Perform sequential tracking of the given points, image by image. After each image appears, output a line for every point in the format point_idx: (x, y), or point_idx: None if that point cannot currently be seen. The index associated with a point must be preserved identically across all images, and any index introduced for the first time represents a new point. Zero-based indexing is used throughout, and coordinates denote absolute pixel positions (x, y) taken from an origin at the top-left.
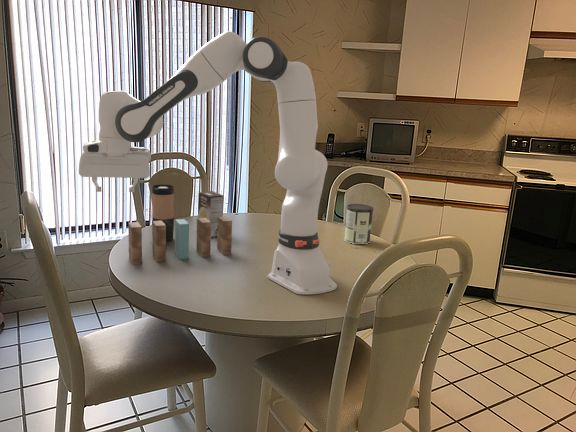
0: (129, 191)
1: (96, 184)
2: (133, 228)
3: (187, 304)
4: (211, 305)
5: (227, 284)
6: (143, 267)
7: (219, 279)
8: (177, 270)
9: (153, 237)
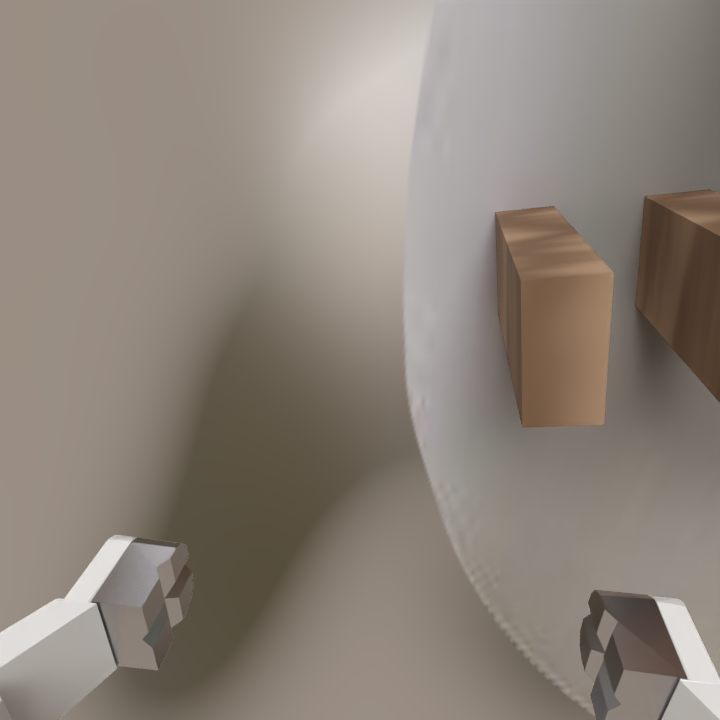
0: (583, 648)
1: (76, 690)
2: (535, 421)
3: None
4: None
5: None
6: None
7: None
8: (696, 445)
9: (694, 266)
